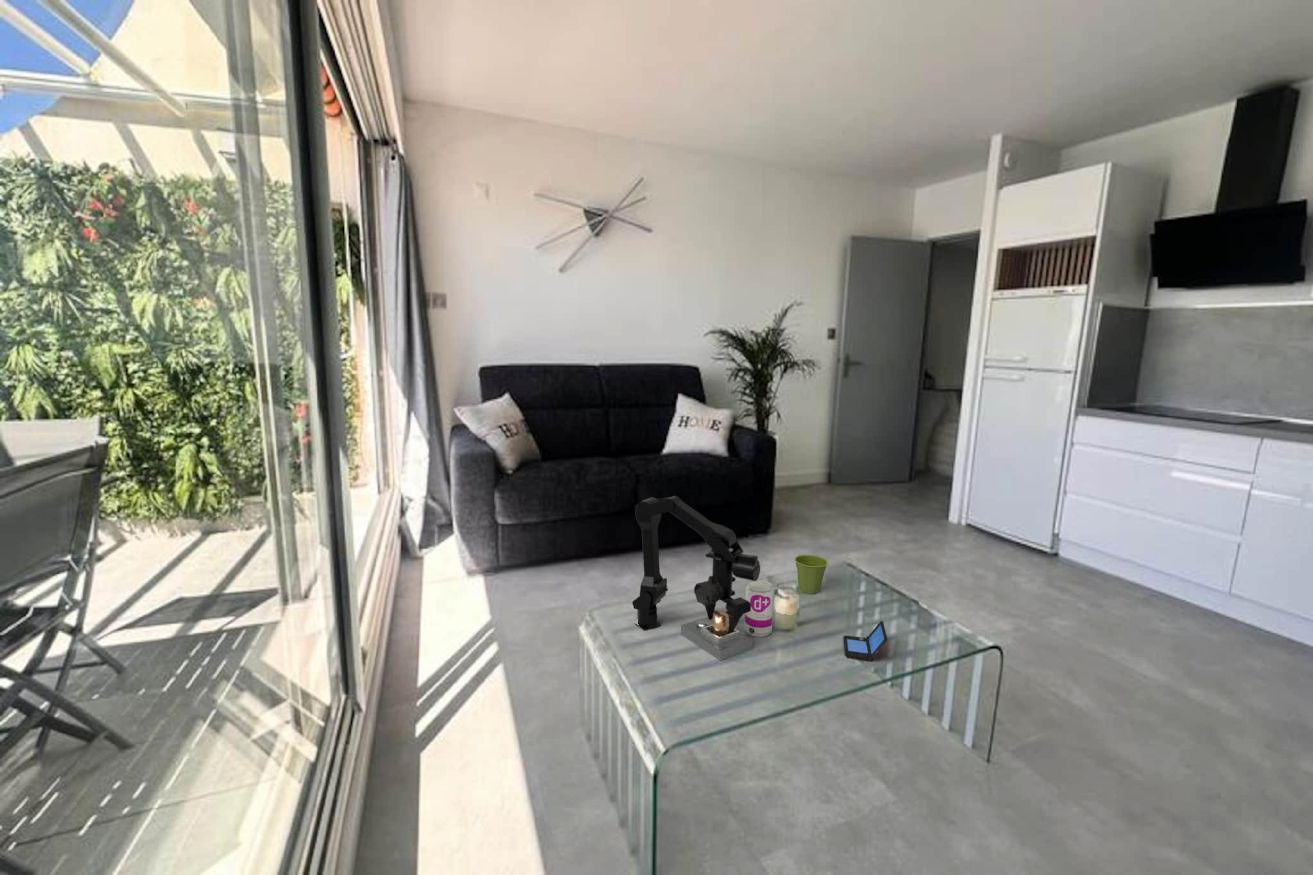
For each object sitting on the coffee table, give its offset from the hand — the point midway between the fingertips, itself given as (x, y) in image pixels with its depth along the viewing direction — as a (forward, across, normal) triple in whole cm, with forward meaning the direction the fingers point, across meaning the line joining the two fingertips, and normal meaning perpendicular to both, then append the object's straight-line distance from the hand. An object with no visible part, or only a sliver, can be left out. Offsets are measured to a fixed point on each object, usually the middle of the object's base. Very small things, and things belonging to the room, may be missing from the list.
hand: (720, 625), depth 167 cm
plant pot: (+6, -13, +53) cm, 55 cm away
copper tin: (+4, 0, 0) cm, 4 cm away
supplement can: (+6, 0, +15) cm, 16 cm away
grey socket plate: (+6, -2, 0) cm, 6 cm away
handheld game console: (+6, +25, +33) cm, 41 cm away
